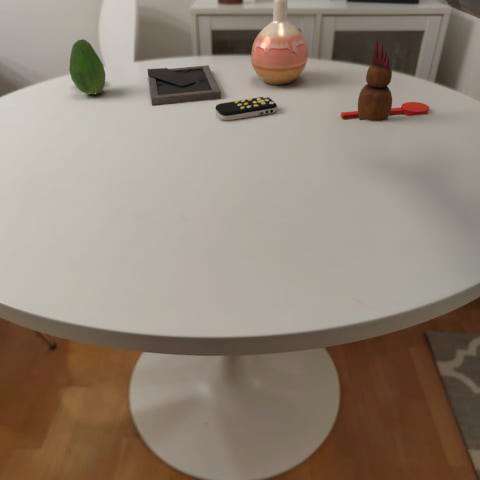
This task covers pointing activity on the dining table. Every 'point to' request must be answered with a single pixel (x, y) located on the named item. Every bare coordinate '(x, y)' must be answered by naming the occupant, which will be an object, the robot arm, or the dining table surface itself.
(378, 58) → the wooden figurine
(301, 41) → the vase
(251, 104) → the remote control
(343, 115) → the red spoon
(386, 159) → the dining table surface
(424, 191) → the dining table surface
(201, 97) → the picture frame
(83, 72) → the avocado
